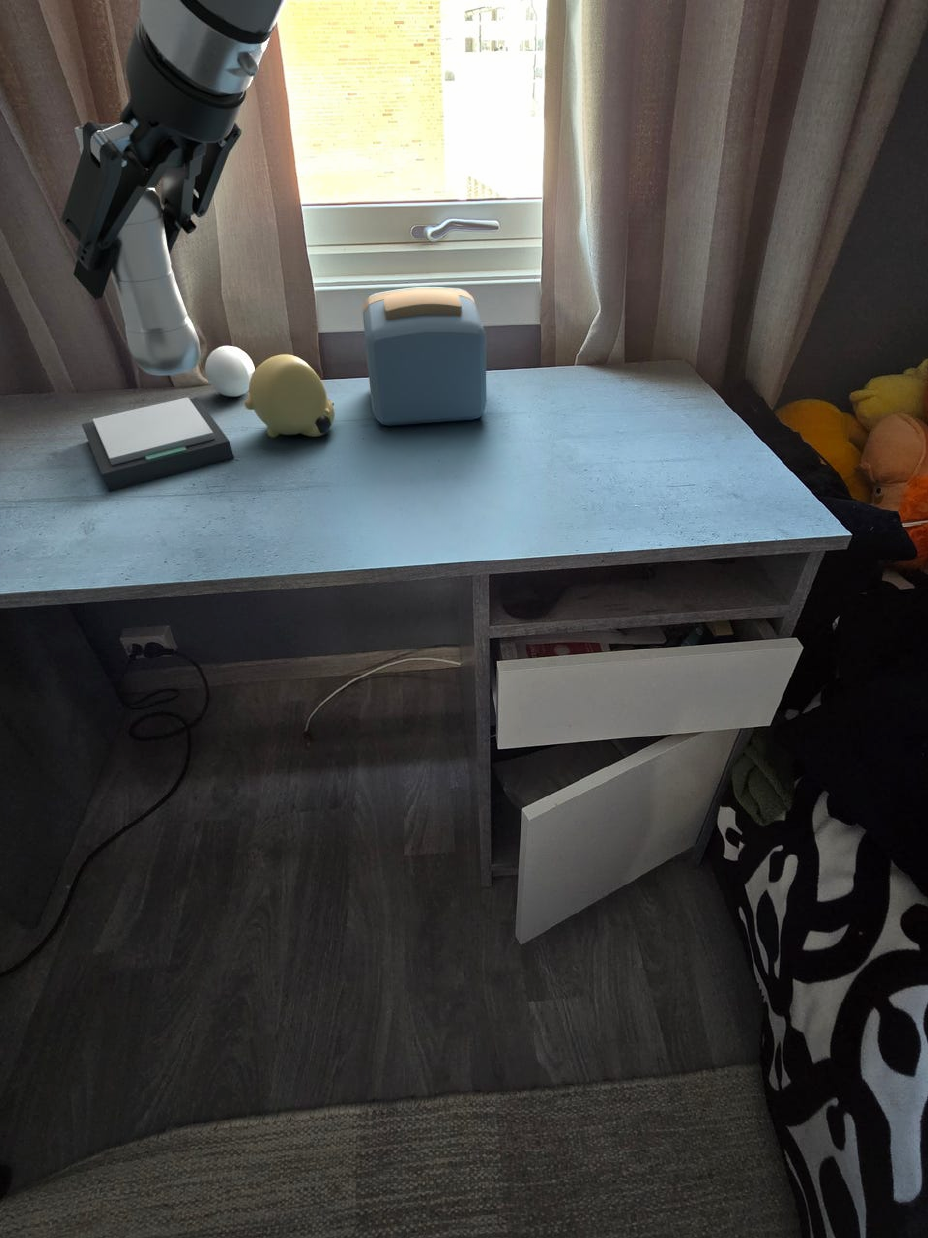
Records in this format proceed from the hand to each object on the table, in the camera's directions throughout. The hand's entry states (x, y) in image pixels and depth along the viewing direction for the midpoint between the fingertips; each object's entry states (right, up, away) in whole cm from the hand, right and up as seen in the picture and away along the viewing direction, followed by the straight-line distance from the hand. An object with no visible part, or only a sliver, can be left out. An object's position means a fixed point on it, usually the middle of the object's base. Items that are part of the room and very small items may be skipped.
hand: (118, 275), depth 65 cm
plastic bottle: (+3, -8, +4) cm, 9 cm away
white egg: (-3, +4, +44) cm, 44 cm away
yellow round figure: (+9, -6, +33) cm, 35 cm away
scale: (-9, -9, +30) cm, 32 cm away
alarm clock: (+27, 0, +40) cm, 48 cm away
